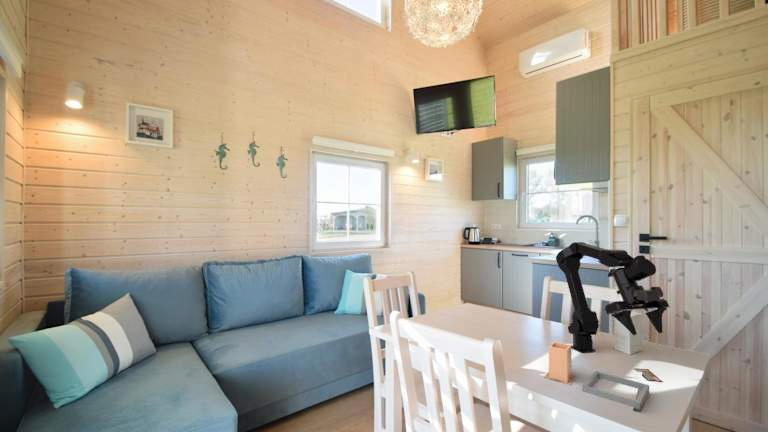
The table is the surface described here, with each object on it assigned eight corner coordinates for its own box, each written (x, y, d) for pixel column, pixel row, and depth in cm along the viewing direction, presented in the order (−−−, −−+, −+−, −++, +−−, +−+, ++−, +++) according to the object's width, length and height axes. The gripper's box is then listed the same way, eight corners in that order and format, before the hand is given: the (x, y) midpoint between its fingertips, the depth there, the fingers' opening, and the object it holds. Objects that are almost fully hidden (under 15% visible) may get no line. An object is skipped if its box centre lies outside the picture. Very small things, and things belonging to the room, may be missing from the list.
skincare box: (626, 346, 142) (626, 309, 142) (643, 351, 137) (642, 312, 137) (614, 350, 139) (613, 312, 139) (630, 355, 133) (629, 315, 133)
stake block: (543, 380, 114) (543, 365, 114) (550, 372, 120) (550, 357, 120) (571, 388, 109) (570, 372, 109) (577, 379, 115) (576, 363, 115)
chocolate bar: (665, 384, 111) (665, 382, 111) (647, 383, 112) (647, 380, 112) (647, 369, 122) (647, 367, 122) (631, 368, 123) (631, 366, 123)
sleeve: (549, 377, 114) (548, 346, 114) (553, 371, 118) (553, 341, 118) (567, 382, 110) (567, 350, 110) (571, 376, 114) (571, 345, 114)
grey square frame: (582, 394, 105) (582, 386, 105) (595, 378, 115) (595, 370, 115) (639, 412, 95) (639, 403, 95) (649, 393, 105) (649, 385, 105)
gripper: (619, 278, 110) (641, 330, 102) (671, 276, 112) (696, 326, 105) (596, 289, 119) (614, 337, 112) (644, 287, 122) (665, 333, 115)
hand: (647, 333), depth 111 cm, fingers open, 9 cm apart
